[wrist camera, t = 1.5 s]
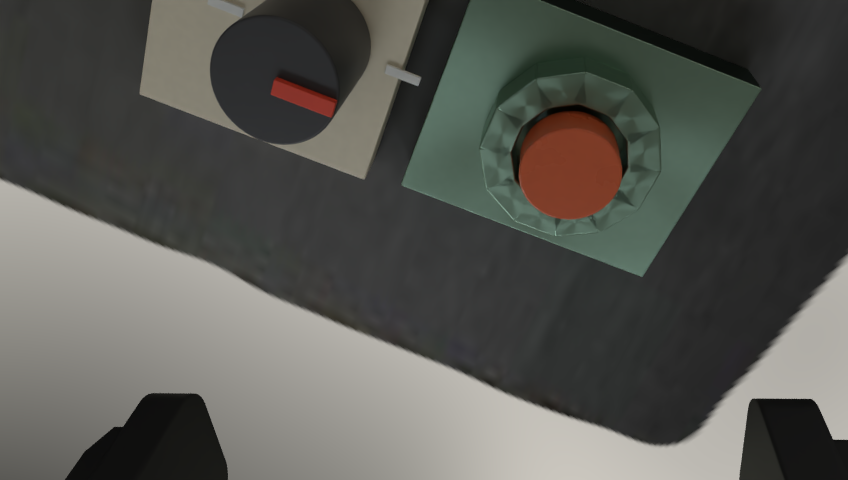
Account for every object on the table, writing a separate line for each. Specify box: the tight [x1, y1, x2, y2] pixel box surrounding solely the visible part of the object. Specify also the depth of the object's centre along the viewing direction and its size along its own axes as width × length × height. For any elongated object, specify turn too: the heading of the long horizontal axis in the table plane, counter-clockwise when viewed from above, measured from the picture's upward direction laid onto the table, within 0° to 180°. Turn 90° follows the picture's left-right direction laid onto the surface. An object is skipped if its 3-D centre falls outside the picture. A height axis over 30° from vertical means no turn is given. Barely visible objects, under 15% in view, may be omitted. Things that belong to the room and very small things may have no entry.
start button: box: [519, 111, 622, 220], centre depth 27 cm, size 4×4×2 cm
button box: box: [401, 0, 762, 277], centre depth 29 cm, size 11×9×4 cm
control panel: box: [140, 0, 429, 179], centre depth 29 cm, size 11×10×2 cm
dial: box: [210, 0, 371, 145], centre depth 26 cm, size 4×4×5 cm
